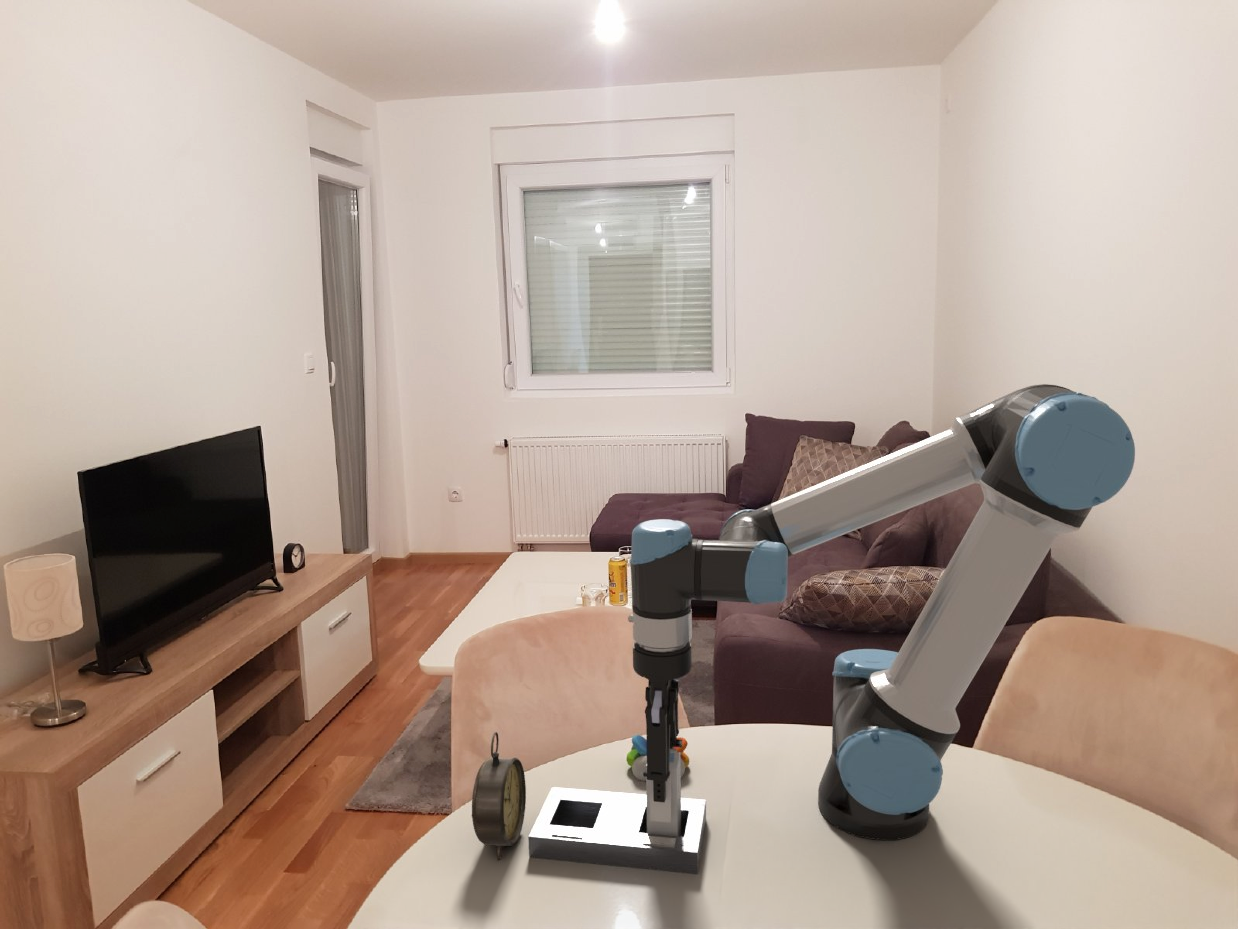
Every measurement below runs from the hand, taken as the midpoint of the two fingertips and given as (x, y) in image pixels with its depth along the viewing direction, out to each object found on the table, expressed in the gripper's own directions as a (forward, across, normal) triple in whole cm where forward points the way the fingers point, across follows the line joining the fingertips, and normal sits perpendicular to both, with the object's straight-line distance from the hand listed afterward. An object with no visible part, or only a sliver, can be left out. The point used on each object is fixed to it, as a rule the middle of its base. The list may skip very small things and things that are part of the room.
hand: (664, 806), depth 117 cm
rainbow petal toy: (+6, -19, -4) cm, 20 cm away
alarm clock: (+6, +3, -22) cm, 23 cm away
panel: (+6, 0, -6) cm, 8 cm away
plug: (+5, 0, 0) cm, 5 cm away
